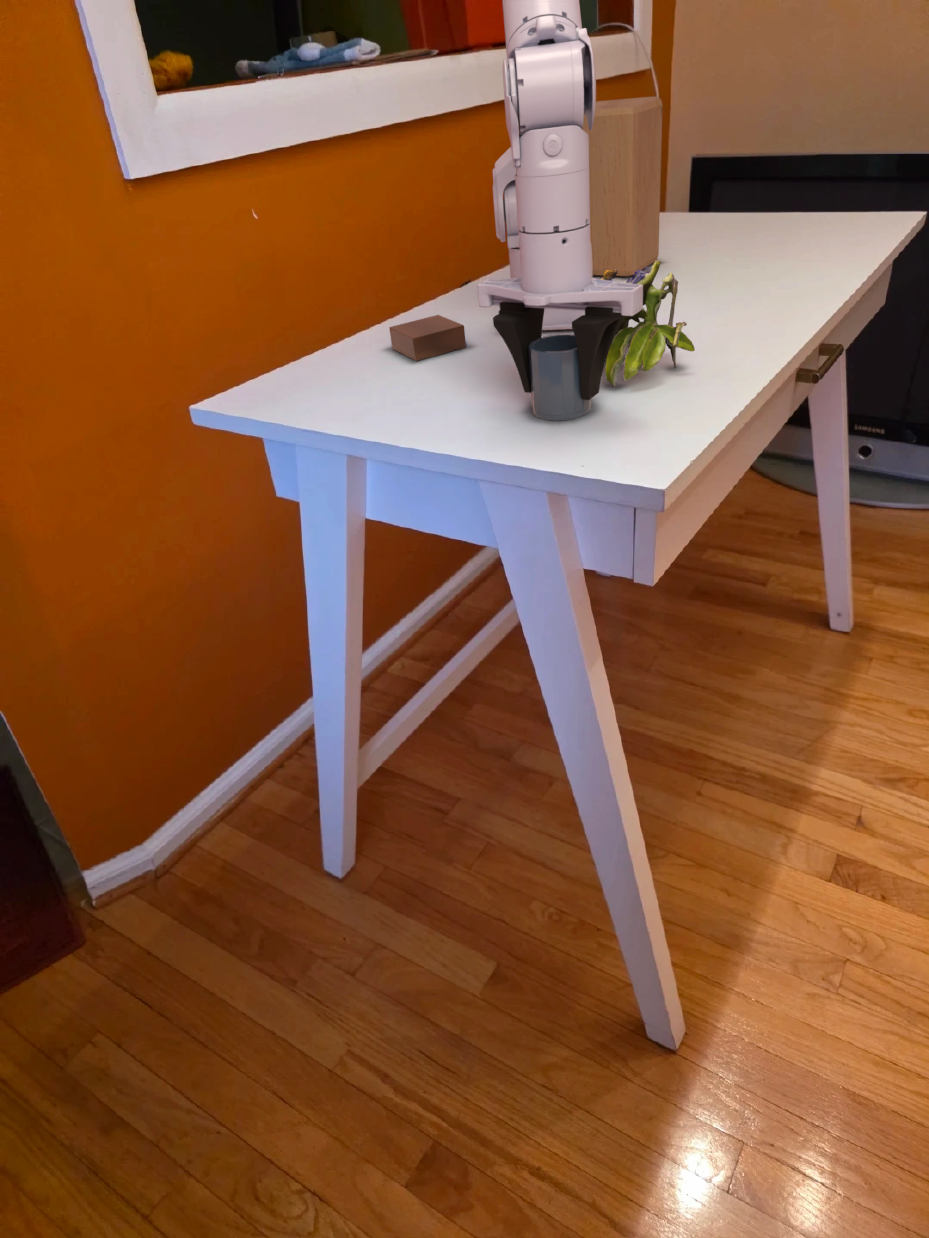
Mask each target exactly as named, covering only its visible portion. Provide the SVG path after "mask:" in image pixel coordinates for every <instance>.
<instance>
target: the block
mask: <svg viewBox="0 0 929 1238" xmlns="http://www.w3.org/2000/svg"><path fill="white" fill-rule="evenodd" d="M388 328H389V335H390V341H391V348H392V350H394V351H396V352H398V353H400V354H402V355H403V356H406V357H407V358H409V359H411V360H413V361H415V362H418V361H422V360H425V359H429V358H432V357H436V356H440V355H443V354H448V353H450V352H455V351H459V350H462V349H466V348H467V341H466V332H465V325H464V324H463V323H459V322H457V321H454V320H453V319H449V318H447V317H445V316H442V315H440V314H436V315H431V316H428V317H424V318H421V319H420V318H419V319H416V320H411V321H408V322H403V323H400V324H396V325H393V326H389V327H388Z"/></svg>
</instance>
